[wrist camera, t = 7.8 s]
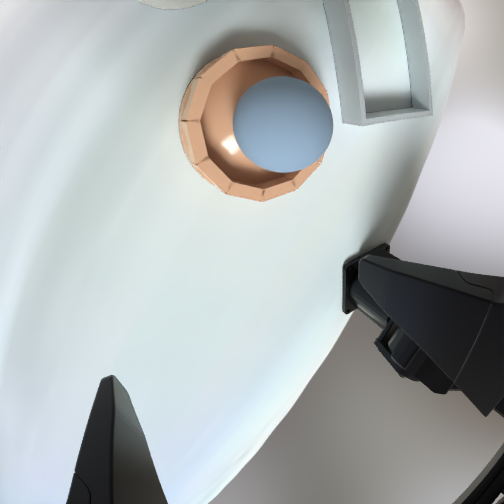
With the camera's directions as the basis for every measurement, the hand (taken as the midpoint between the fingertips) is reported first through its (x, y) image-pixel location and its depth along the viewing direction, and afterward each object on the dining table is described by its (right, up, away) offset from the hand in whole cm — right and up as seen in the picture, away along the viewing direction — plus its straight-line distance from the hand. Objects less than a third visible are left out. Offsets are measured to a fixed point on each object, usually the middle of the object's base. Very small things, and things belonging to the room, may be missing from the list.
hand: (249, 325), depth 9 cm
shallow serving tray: (+11, +21, +10) cm, 25 cm away
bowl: (0, +11, +10) cm, 14 cm away
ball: (0, +10, +9) cm, 14 cm away
